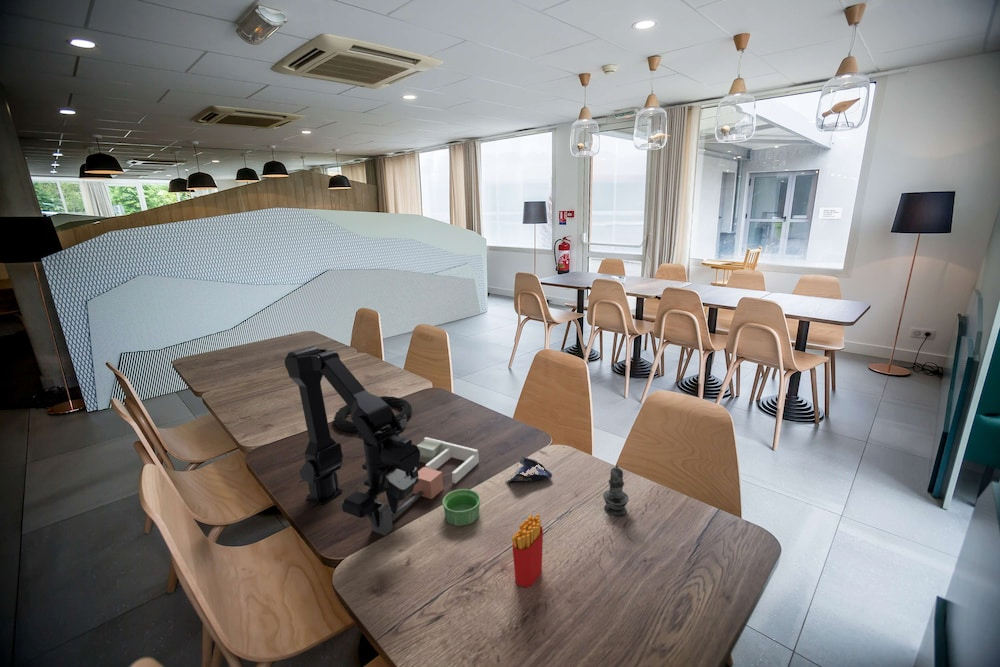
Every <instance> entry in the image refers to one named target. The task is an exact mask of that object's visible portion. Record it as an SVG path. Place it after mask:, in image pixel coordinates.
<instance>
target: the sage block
mask: <svg viewBox="0 0 1000 667" xmlns="http://www.w3.org/2000/svg"><path fill="white" fill-rule="evenodd" d="M416 446H417V447H418V449H419V450H420V459H419V462H420V463H424V464H427V463H428V462H430V461H431V460H432V459H434V458H435V457H436V456H438V455H439V454H440V453H441V452H443V442H439V441H434V440H430V439H425V440H424V439H423V441H421V442H420V443H418V444H417V445H416Z"/></svg>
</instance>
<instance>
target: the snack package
mask: <svg viewBox="0 0 1000 667" xmlns="http://www.w3.org/2000/svg"><path fill="white" fill-rule="evenodd" d="M518 461H519V462H518V463H519V464H521V465H522V466H521V467H520V468H518V469H517V470H516V471H515V472H514V474H516V475H515V476H514V477H513V478H511V477H510V478H511V479H510V480H508V482H511V481H513V482H515V481H516V482H534V481H538V480H540V479H541V480H542V479H543V478H544V479H545V478H546V479H547V478H548V479H552V477H553V473H552V472H550V471H549V470H547V469H546V468H545V467H544V465H543V464H541V463H540V462H538V461H537V460H535V459H533V458H529V457H525V456H521V458H519V459H518ZM538 464H539V465H540V466H541V467H543V468H544V471H545V472H544V471H543V470H542V469H539V468H538V467H536V470H537V471H538V472H537V473H538V475H537V474H535V472H534V474H533V473H532V474H533V475H528V476H524V475H522V474H520V473H522V472H524V473H526V471H527V470H528V469H529V470H530V469H531V468H532V467H535V466H536V465H538ZM507 479H508V478H507ZM507 479H506V482H507ZM508 482H507V483H508Z"/></svg>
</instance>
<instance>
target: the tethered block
mask: <svg viewBox="0 0 1000 667" xmlns="http://www.w3.org/2000/svg"><path fill="white" fill-rule="evenodd" d="M418 475H419V476H418V480H419V482H418V483H417V484H415V485H414V489H413V492H412V493H413V494H414V495H413V496H411V497H410V498H409V499H408V500H407V501H406V502H404V503H403V504H402V505H401V506H399V507H397V511H396V513H392V512H391V508H390V506H389V504H385V503H383V502H380V501H377V503H379V504H382V506H381V507H380V508H379V509H378V510H379V527H375V526H374V525H373V523H372V522H371V521H370V524H371V531H372V532H375V533H376V534H379V535H382V536H384V537H385V536H387V535H388V534H389V533H390V532H392V531H393V529H394V527H393V526H394V525H393V520H394V519H396V518H397V517H398V516H399V515H400V514H402V513H403V512H404V511H405V510H406V509H408V508H409V507H410V506H411V505H412V504H414V503H415V502H416V501H417V500H418V499H419V498H420V497H424V498H427V499H430V500H432V499H434V498H435V497H436V496H438V494H440V493H441V492H442V491H443V490H444V479H443V478H444V477H443V472H442V471H441V470H440V471H439V470H438V469H436V470H433V469H430V468H426V467H425V466H423V467H421V468H420V469H419V470H418Z"/></svg>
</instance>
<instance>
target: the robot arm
mask: <svg viewBox="0 0 1000 667" xmlns="http://www.w3.org/2000/svg"><path fill="white" fill-rule="evenodd" d="M340 358H341V357H340V355H339V353H338V352H337V351H336V350H332V349H331V350H329V349H328V348H318V347H317V346H315V345H313V346H312V345H311V346H308V347H305V348H304V347H303V348H301V349H296V350H293V351H290V352H288V353H287V356H286V357H285V358H284V366H285V369H286V370H287V374H288V377H289V378H290V380H292V381H293V382H294V383H295V384H296V385H297V386H298V388H299V389H298V391H299V394H300V399H301V400H300V401H301V404H302V409H303V415H304V420H305V425H306V429H307V436H308V440H309V441H308V443H307V446H306V449H305V451H304V460H305V461H304V462H305V463H304V465H303V466H302V467H301V469H300V470H299V476H300V478H301V480H302V481H305V482H306V483H307V485H308V490H309V494H307V495H306V499H307V500H309V501H311V502H315V503H318V504H320V505H325V504H326V503H328V502H329V501H331V500H332V499H334V498H335V497H337V496H338V495H340V494H342V492H343V489H341V488H339V478H338V473H337V471H338V470H341V469H342V464H343V458H344V454H343V453H342V452H343V450H342V445H341V443H340V442H336V441H335V439H333V438H332V436H331V433H330V427H329V423H328V417H327V411H326V405H325V401H324V396H323V390H322V382H321V381H322V379H323V377H324V378H325V379H326V380H327V382H328V383H329V384H330V385H331V386H332V388H334V390H335V392H336V393H337V394H339V396H340V398H341V399H342V400H343V401H344V402H345V405H348V406H349V408H350V410H351V413H350V419H351V422H354V424H355V426H356V428H357V429H358V431H359V432H360V433H357V435H356V438H357V439H359V440H362V441H363V450H364V457H365V458H364V459H365V462H364V463H363V464H361V465H362V466H361V467H362V468H361V469H362V470H365V471H366V475H367V478H366V479H365V480H364V481H363V482H364V486H366V487H368V489H367V491H366V492H364V493H363V492H361V491H357V490H355V491H354V492H352V493H351V494H350V495H348V496H346V497H345V498H344V499H343V500H342V501H341V509H342V512H345V513H346V514H349V515H351V516H354V517H356V518H364V517H365V518H366V517H367V518H368V519H369V521H370V523H371V522H372V523H373V525H374V526H375V527H379V510H378V509H379V508H380V507H381V506H382V504H379V503H377V502H378V497H379V496H380V495H382V494H384V493H385V494H386V499H387V503H388V506H390V508H391V514H392V513H396V511H397V509H398V508H399V503H400V501H404V500H405V499H406V498H407V497H408V496H409V495H410V494H412V493H413V489H414V485H415V484H417V483H418V482H419V480H418V476H419V475H418V471H419V470H418V467H417V466H418V464H419V462H420V461H419V459H420V450H419V449H418V447H417V445H416V444H413V441H412V439H411V438H408V437H402V436H400V434H402V433H404V428H402V427H401V425H400V424H401V423H400V422H399V420H398V419H397V418H396V415H395V413H394V411H393V409H392V407H391V405H388V404H387V403H385V402H384V401H383V400H382V399H381V398H380V397H381V396H378V395H375V394H372V393H370V392H368V390H366V389H365V387H364V386H363V385H362V384H361V382H360V381H359V380H358V379H357V378H356V377H355V375H354V374H353V373H352V372H351V371H350V370H349V368H348V367H347V366H346V365H345V364H344V362H343V361H342V360H341V359H340ZM388 426H391V427H392V428H390V429H386V430H383V431H380V430H382V429H384V428H386V427H388Z"/></svg>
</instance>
